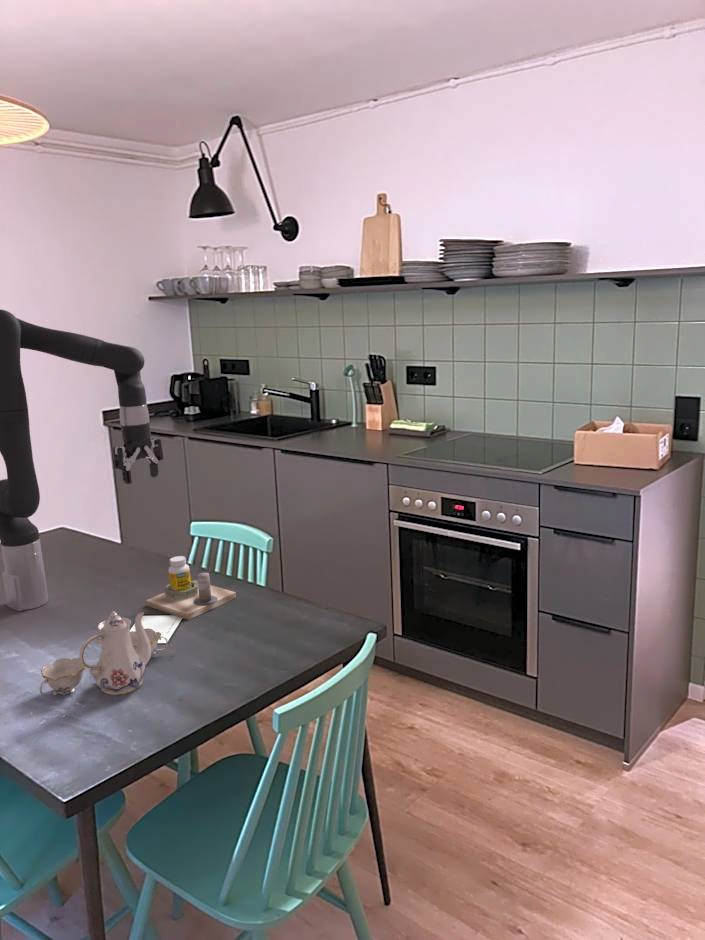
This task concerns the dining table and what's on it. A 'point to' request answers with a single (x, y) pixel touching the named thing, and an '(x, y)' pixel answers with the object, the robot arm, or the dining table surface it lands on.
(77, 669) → the chinaware
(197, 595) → the board
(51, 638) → the dining table surface
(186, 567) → the supplement bottle
